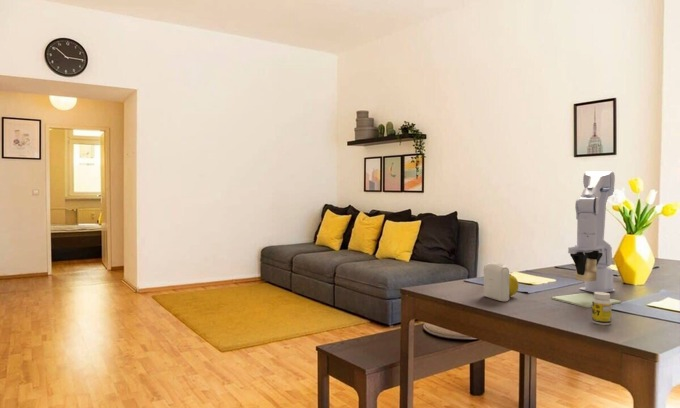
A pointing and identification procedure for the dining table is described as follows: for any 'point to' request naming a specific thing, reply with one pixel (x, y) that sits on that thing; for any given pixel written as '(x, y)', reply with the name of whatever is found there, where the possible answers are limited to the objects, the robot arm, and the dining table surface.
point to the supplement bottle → (601, 308)
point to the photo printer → (496, 281)
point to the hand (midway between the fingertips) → (586, 274)
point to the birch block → (588, 271)
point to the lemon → (512, 285)
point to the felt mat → (580, 299)
